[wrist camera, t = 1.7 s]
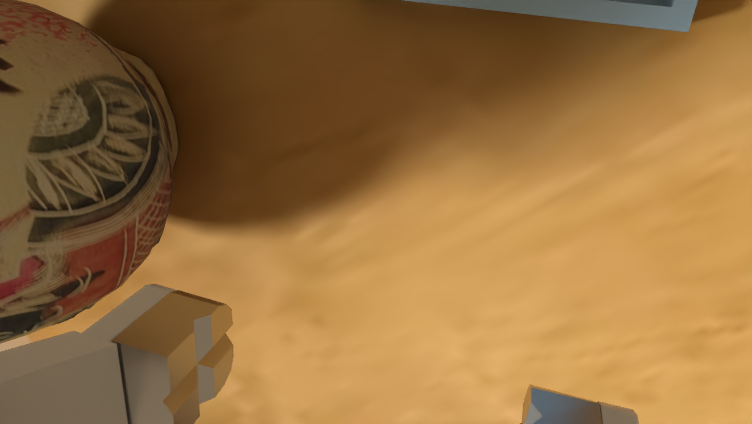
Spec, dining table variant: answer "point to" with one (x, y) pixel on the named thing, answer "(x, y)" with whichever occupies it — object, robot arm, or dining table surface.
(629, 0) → the tray
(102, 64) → the ceramic jug
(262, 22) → the dining table surface
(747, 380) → the dining table surface
